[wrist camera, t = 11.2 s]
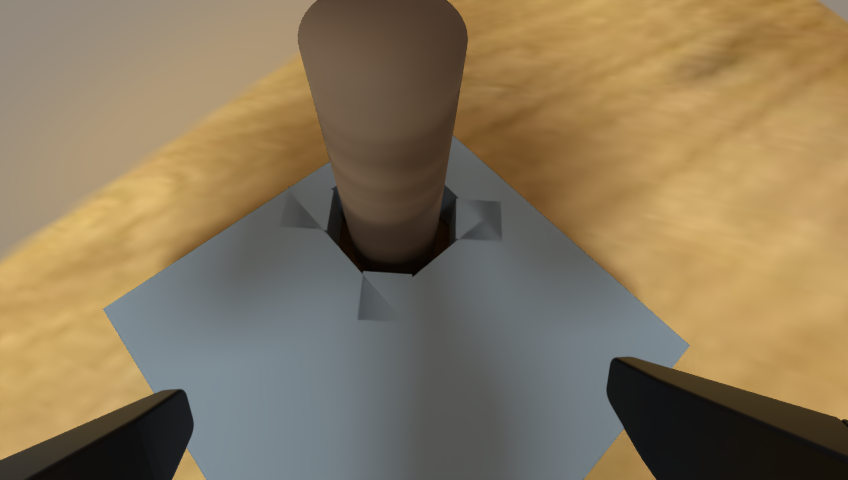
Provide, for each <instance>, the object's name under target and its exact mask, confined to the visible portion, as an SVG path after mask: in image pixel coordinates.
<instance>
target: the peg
mask: <svg viewBox="0 0 848 480" xmlns="http://www.w3.org/2000/svg"><path fill="white" fill-rule="evenodd" d="M467 42H468V36H467V30H466V26H465V23H464V21H463V19H462V17H461V15H460V14H459V13H458V11H457V10H456V9H455V8H454V7H453V5H452V4H450V3H449V2H448V1H447V0H317V1H316V2H315V3H314V4H313V5H312V6H311V7H310V8H309V9H308V11H307V12H306V13H305V15H304V17H303V18H302V20H301V23H300V26H299V31H298V44H299V49H300V53H301V56H302V60H303V64H304V67H305V71H306V75H307V78H308V82H309V86H310V90H311V93H312V97H313V101H314V104H315V108H316V112H317V115H318V119H319V123H320V126H321V130H322V134H323V137H324V141H325V145H326V148H327V152H328V156H329V159H330V163H331V167H332V170H333V174H334V178H335V181H336V185H337V189H338V192H339V196H340V200H341V203H342V207H343V211H344V215H345V218H346V222H347V226H348V229H349V233H350V237H351V240H352V244H353V248H354V251H355V255H356V258H357V260H358V262H359V264H360V265H361V267H362V268H363V269H364V270H365V271H369V272H384V273H399V274H412V277H413V276H415V275H416V274H417V273H418V272H419V271H421V270H422V269H423V268H424V267H426V266H427V265H428V264H429V262H430V260H431V258H432V256H433V252H434V246H435V240H436V234H437V228H438V221H439V215H440V209H441V203H442V197H443V191H444V185H445V179H446V172H447V166H448V160H449V154H450V148H451V142H452V136H453V130H454V123H455V117H456V111H457V105H458V99H459V93H460V87H461V81H462V74H463V68H464V62H465V56H466V50H467Z"/></svg>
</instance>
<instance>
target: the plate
mask: <svg viewBox="0 0 848 480" xmlns="http://www.w3.org/2000/svg"><path fill="white" fill-rule="evenodd" d="M439 216H440V217H441V218H442V219H443V220H444V221H445V222H446V223H447V224H448V225H449V226H450V228H449V248H447V249H446V250H445V251H444V252H442V253H441V254H440V255H439V256H438V257H436V258H435V259H434V260H433V261H432V262H430V263H429V264H428V265H427V266H426V267H424V268H423V269H422V270H421V271H419V272H418V273H417V274H416V275H415V276H413V277H412V274H399V273H384V272H369V271H363V274H362V273H361V272H360V271H359V269H358V268H357V267H356V266H355V265H354V264H353V263H352V262H351V260H350V259H349V258H348V257H347V256H346V255H345V254H344V252H343V251H342V250H341V249H340V248H339V241H340V234H341V228H342V219H343V218H345V215H344V211H343V207H342V203H341V200H340V196H339V192H338V189H337V185H336V181H335V178H334V174H333V170H332V167H331V163H330V162H328V163H327V164H325V165H324V166H322V167H320V168H319V169H317V170H316V171H314V172H313V173H311V174H310V175H308V176H307V177H305V178H304V179H302V180H300V181H299V182H297V183H296V184H294V185H293V186H291V187H288V189H287V190H285V191H284V192H282V193H280V194H279V195H277V196H276V197H274V198H273V199H271V200H270V201H268V202H267V203H265V204H264V205H262V206H260V207H259V208H257V209H256V210H254V211H253V212H251V213H250V214H248V215H247V216H245V217H244V218H242V219H240V220H239V221H237V222H236V223H234V224H233V225H231V226H230V227H228V228H227V229H225V230H224V231H222V232H221V233H219V234H217V235H216V236H214V237H213V238H211V239H210V240H208V241H207V242H205V243H204V244H202V245H201V246H199V247H197V248H196V249H194V250H193V251H191V252H190V253H188V254H187V255H185V256H184V257H182V258H181V259H179V260H177V261H176V262H174V263H173V264H171V265H170V266H168V267H167V268H165V269H164V270H162V271H161V272H159V273H157V274H156V275H154V276H153V277H151V278H150V279H148V280H147V281H145V282H144V283H142V284H141V285H139V286H138V287H136V288H134V289H133V290H131V291H130V292H128V293H127V294H125V295H124V296H122V297H121V298H119V299H118V300H116V301H114V302H113V303H111V304H110V305H108V306H107V307H105V308H104V309H103V310H104V312H105V313H106V315H107V317H108V318H109V320H110V321H111V323H112V325H113V326H114V328H115V330H116V331H117V333H118V335H119V336H120V338H121V340H122V341H123V343H124V345H125V346H126V348H127V350H128V351H129V353H130V354H131V356H132V358H133V359H134V361H135V363H136V364H137V366H138V368H139V369H140V371H141V373H142V374H143V376H144V378H145V379H146V381H147V383H148V384H149V386H150V388H151V389H152V391H153V392H154V394H155V393H157V392H159V391H162V390H170V389H183V390H184V391H185V392H186V394H187V397H188V401H189V405H190V408H191V412H192V416H193V420H194V429H193V433H192V436H191V439H190V441H189V443H188V445H187V449H188V450H189V452H190V454H191V455H192V457H193V459H194V460H195V462H196V463H197V465H198V467H199V468H200V470H201V472H202V473H203V475H204V477H205V478H206V480H583V479H584V478H585V477H586V476H587V474H588V473H589V472H590V471H591V469H592V468H593V467H594V465H595V464H596V463H597V462H598V460H599V459H600V458H601V457H602V455H603V454H604V453H605V452H606V450H607V449H608V448H609V447H610V445H611V444H612V443H613V442H614V440H615V439H616V438H617V437H618V435H619V434H620V433H621V432H622V430H623V429H624V427H623V425H622V424H621V422H620V420H619V418H618V417H617V415H616V413H615V411H614V410H613V408H612V406H611V404H610V402H609V400H608V397H607V392H606V387H607V380H608V373H609V367H610V362H611V360H612V359H613V358H615V357H626V356H629V357H635V358H638V359H641V360H645V361H648V362H652V363H655V364H658V365H662V366H665V367H668V368H672V367H673V366H674V365H675V364H676V362H677V361H678V360H679V359H680V357H681V356H682V355H683V353H684V352H685V351H686V350H687V348H688V347H689V346H690V345H689V344H688V343H687V342H685V341H684V340H683V339H682V338H681V337H680V336H679V335H678V334H676V333H675V332H674V331H673V330H672V329H671V328H670V327H669V326H667V325H666V324H665V323H664V322H663V321H662V320H661V319H660V318H658V317H657V316H656V315H655V314H654V313H653V312H652V311H651V310H649V309H648V308H647V307H646V306H645V305H644V304H643V303H641V302H640V301H639V300H638V299H637V298H636V297H635V296H634V295H632V294H631V293H630V292H629V291H628V290H627V289H626V288H625V287H623V286H622V285H621V284H620V283H619V282H618V281H617V280H616V279H614V278H613V277H612V276H611V275H610V274H609V273H608V272H607V271H605V270H604V269H603V268H602V267H601V266H600V265H599V264H598V263H596V262H595V261H594V260H593V259H592V258H591V257H590V256H589V255H587V254H586V253H585V252H584V251H583V250H582V249H581V248H580V247H578V246H577V245H576V244H575V243H574V242H573V241H572V240H571V239H569V238H568V237H567V236H566V235H565V234H564V233H563V232H561V231H560V230H559V229H558V228H557V227H556V226H555V225H554V224H552V223H551V222H550V221H549V220H548V219H547V218H546V217H545V216H543V215H542V214H541V213H540V212H539V211H538V210H537V209H536V208H534V207H533V206H532V205H531V204H530V203H529V202H528V201H527V200H525V199H524V198H523V197H522V196H521V195H520V194H519V193H518V192H516V191H515V190H514V189H513V188H512V187H511V186H510V185H509V184H507V183H506V182H505V181H504V180H503V179H502V178H501V177H500V176H498V175H497V174H496V173H495V172H494V171H493V170H492V169H490V168H489V167H488V166H487V165H486V164H485V163H484V162H483V161H481V160H480V159H479V158H478V157H477V156H476V155H475V154H474V153H472V152H471V151H470V150H469V149H468V148H467V147H466V146H465V145H463V144H462V143H461V142H460V141H459V140H458V139H457V138H456V137H454V136H452V142H451V148H450V154H449V160H448V166H447V172H446V179H445V185H444V191H443V197H442V203H441V209H440V215H439Z"/></svg>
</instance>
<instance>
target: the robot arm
mask: <svg viewBox="0 0 848 480" xmlns="http://www.w3.org/2000/svg"><path fill="white" fill-rule="evenodd" d="M606 392H607V397H608V400H609V402H610V404H611V406H612V408H613V410H614V411H615V413H616V415H617V417H618V418H619V420H620V422H621V424H622V425H623V427H624V429H625V431H626V432H627V434H628V436H629V438H630V439H631V441H632V443H633V445H634V446H635V448H636V450H637V452H638V453H639V455H640V456H641V458H642V460H643V461H644V462H645V464H646V465H647V467H648V468H649V470H650V471H651V473H652V474H653V475H654V477H655V478H656V480H848V420H846V419H843V420H840V419H838V418H837V417H833V416H830V415H827V414H823V413H820V412H817V411H813V410H810V409H806V408H803V407H800V406H796V405H793V404H790V403H786V402H783V401H780V400H776V399H773V398H769V397H766V396H763V395H759V394H756V393H753V392H749V391H746V390H742V389H739V388H736V387H732V386H729V385H726V384H722V383H719V382H716V381H712V380H709V379H705V378H702V377H699V376H695V375H692V374H689V373H685V372H682V371H678V370H675V369H672V368H668V367H665V366H662V365H658V364H655V363H652V362H648V361H645V360H641V359H638V358H635V357H629V356H626V357H615V358H613V359H612V360H611V362H610V367H609V373H608V380H607V387H606ZM193 429H194V420H193V416H192V412H191V408H190V405H189V401H188V397H187V394H186V392H185V391H184V390H183V389H170V390H162V391H159V392H157V393H155V394H152V395H150V396H148V397H145V398H143V399H141V400H138V401H136V402H134V403H131V404H129V405H127V406H125V407H122V408H120V409H118V410H115V411H113V412H111V413H108V414H106V415H104V416H101V417H99V418H97V419H94V420H92V421H90V422H88V423H85V424H83V425H81V426H78V427H76V428H74V429H71V430H69V431H67V432H64V433H62V434H60V435H58V436H55V437H53V438H51V439H48V440H46V441H44V442H41V443H39V444H37V445H34V446H32V447H30V448H28V449H25V450H23V451H21V452H18V453H16V454H14V455H11V456H9V457H7V458H4V459H2V460H0V480H172V479H173V476H174V474H175V472H176V470H177V468H178V465H179V463H180V461H181V459H182V456H183V454H184V452H185V450H186V447H187V445H188V443H189V441H190V439H191V436H192V433H193Z"/></svg>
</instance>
